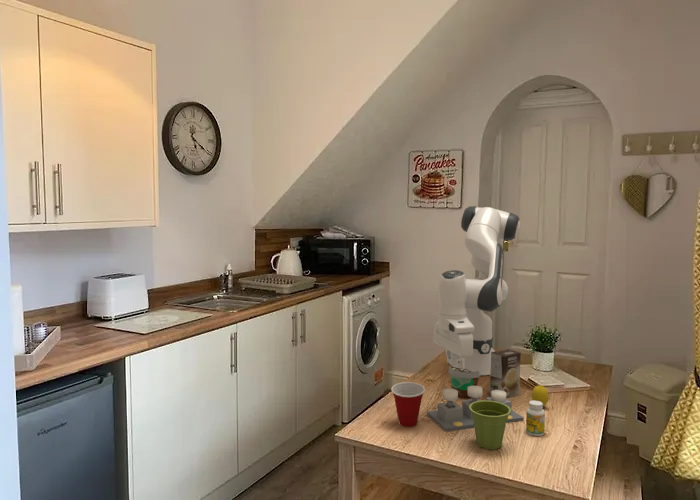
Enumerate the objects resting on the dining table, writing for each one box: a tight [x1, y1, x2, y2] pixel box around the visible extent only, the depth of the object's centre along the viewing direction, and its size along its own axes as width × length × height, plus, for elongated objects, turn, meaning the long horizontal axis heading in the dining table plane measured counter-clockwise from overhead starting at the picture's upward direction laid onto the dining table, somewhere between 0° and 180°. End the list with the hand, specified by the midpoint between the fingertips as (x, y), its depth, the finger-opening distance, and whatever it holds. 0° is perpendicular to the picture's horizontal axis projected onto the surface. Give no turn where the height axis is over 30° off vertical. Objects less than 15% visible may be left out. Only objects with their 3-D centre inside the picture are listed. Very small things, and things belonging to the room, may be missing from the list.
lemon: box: [531, 384, 549, 406], centre depth 191 cm, size 6×6×8 cm
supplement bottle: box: [525, 400, 546, 437], centre depth 171 cm, size 5×5×10 cm
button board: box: [426, 396, 524, 432], centre depth 183 cm, size 14×28×5 cm, turn 107°
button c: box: [442, 387, 459, 408], centre depth 180 cm, size 5×5×6 cm
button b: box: [467, 385, 483, 403], centre depth 182 cm, size 5×5×6 cm
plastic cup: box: [390, 381, 426, 428], centre depth 177 cm, size 11×11×12 cm
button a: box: [490, 390, 507, 402], centre depth 185 cm, size 5×5×6 cm
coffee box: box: [489, 348, 522, 399], centre depth 203 cm, size 9×6×16 cm
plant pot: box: [469, 400, 512, 450], centre depth 163 cm, size 12×12×11 cm
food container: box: [448, 365, 481, 400], centre depth 202 cm, size 12×6×10 cm, turn 45°
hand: (451, 364), depth 178 cm, fingers closed
